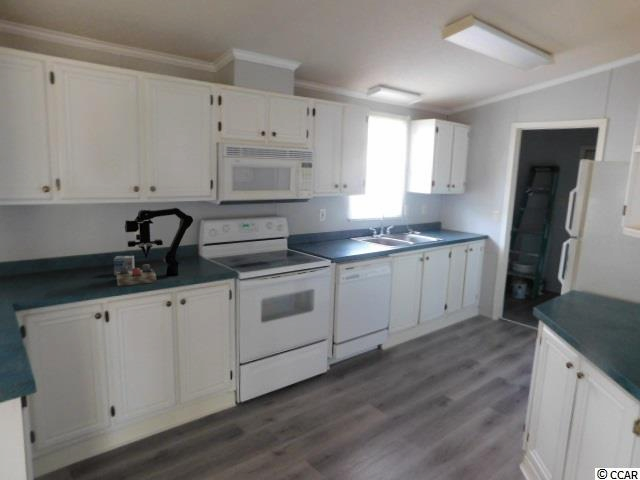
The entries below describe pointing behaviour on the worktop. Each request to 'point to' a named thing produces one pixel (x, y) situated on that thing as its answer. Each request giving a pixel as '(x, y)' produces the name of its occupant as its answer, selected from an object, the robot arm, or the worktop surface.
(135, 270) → the red plug
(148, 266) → the grey plug
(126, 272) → the grey plug
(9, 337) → the worktop surface
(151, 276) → the plug board
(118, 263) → the light bulb box
